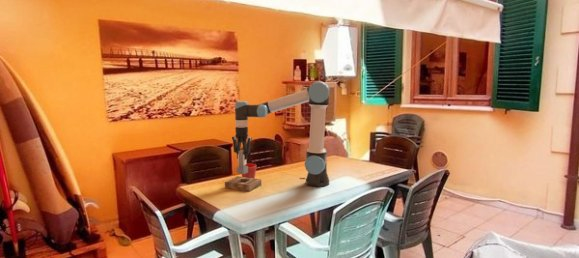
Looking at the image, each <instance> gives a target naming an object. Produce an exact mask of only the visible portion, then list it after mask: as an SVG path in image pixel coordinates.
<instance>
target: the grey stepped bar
mask: <svg viewBox="0 0 579 258" xmlns="http://www.w3.org/2000/svg"><path fill="white" fill-rule="evenodd" d="M243 154H244V150H243V149H240V151H239V164H238V166H236V174H239V175H242V174H245V173H248V166H246V164H247V163H246V164H245V165H243Z"/></svg>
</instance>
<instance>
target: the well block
mask: <svg viewBox="0 0 579 258" xmlns="http://www.w3.org/2000/svg"><path fill="white" fill-rule="evenodd" d="M259 187H262V179H260V178H256V177H255V178H247V177H242V176H235V177H233V178H231V179H228V180H226V181H224V189H228V190H234V191H235V190H236V191H240V192H241V191H242V192H252V191H253V190H255V189H257V188H259Z"/></svg>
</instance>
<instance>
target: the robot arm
mask: <svg viewBox="0 0 579 258" xmlns="http://www.w3.org/2000/svg"><path fill="white" fill-rule="evenodd" d="M330 95H331V87H330V85H328V83H326V82H325V81H321V80H320V81H314V82H313V83H312V84H311V85H310V86H308V87H306V88H305V89H304V90H300V91H297V92H293V93H291V94H288V95H284V96H282V97H278V98H275V99H272V100H269V101H265V102H262V103H259V104H248V101H246V100H245V101H243V100H239V101H238V100H237V101H236V102H234V103H235V105H234V116H235V117H234V119H235V120H234V121H235V123H234V124H235V125H234V126H235V135H234V136H231V139H232V147H233V152H234V153H235V154H236V159H237V165H239V151H240V150H244V154H243V165H245V164H247V160H248V154H250V153H251V147H252V146H251V145H252V140H253V137H250V136H249V128H248V126H249V125H248V124H249V123H248V122H249V121H248V120H249V119H248V118H260V119H261V118H266V117H267V116H268V115H269V114H271V113H272V114H273V113H275V112H279V111H282V110H285V109H288V108H292V107H295V106H298V105H301V104H305V103H308V105H309V106H310V123H309V124H310V125H309V126H310V127H309V140H308V141H309V142H308V145H309V146H308V148H307V149H306V153H305V161H304V168H305V170H306V171H307V175H306V178H305V184H306V185H307V186H309V187H315V188H316V187H317V188H319V187H326V186H329V185H330V179H329V175H328V171H327V165H328V163H327V161H328V160H327V158H328V156H327V155H328V150H327V149H326V148H324V146H325V132H326V130H325V129H326V128H325V127H326V113H327V112H326V110H327V107H328V106H329V105H330ZM242 147H243V148H242ZM241 148H242V149H241Z"/></svg>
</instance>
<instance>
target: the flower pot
mask: <svg viewBox="0 0 579 258" xmlns="http://www.w3.org/2000/svg"><path fill="white" fill-rule="evenodd" d="M246 166H248V173H245V174H241V177H247V178H255V179H256V173H257V164H256V163H246Z"/></svg>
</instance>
